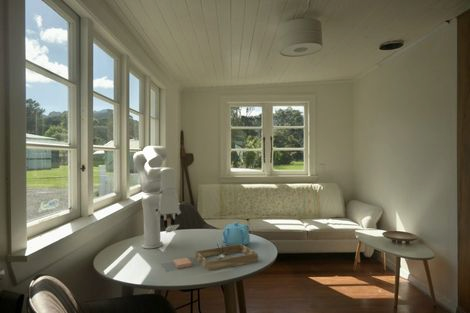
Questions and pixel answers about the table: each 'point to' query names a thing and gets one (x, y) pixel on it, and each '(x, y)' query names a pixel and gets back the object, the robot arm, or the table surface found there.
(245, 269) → the table surface
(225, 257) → the reed diffuser
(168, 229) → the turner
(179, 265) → the tile
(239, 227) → the decorative pot
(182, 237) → the table surface
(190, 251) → the table surface
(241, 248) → the wooden frame
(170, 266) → the mat
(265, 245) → the table surface
